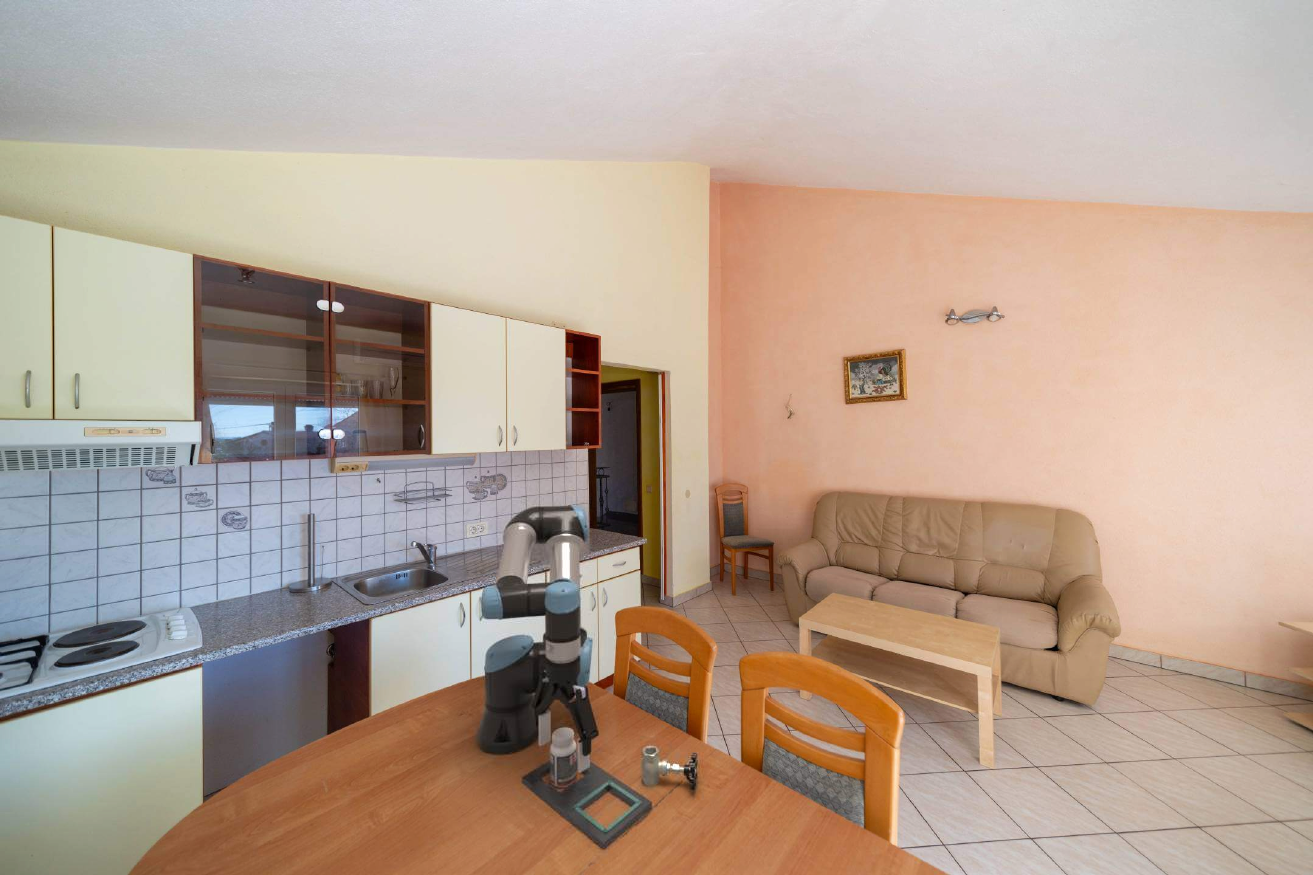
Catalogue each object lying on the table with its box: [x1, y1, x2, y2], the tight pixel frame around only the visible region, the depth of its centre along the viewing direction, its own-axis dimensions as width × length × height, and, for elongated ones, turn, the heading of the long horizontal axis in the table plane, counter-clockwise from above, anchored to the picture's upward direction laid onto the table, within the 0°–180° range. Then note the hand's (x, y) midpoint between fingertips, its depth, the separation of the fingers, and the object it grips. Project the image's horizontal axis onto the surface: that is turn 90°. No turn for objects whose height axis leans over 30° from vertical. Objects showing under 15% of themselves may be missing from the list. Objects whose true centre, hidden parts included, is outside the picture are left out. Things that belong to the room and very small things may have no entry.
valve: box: [640, 745, 699, 791], centre depth 103 cm, size 7×7×12 cm
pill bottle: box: [549, 726, 578, 789], centre depth 104 cm, size 6×6×10 cm
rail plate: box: [521, 752, 653, 850], centre depth 99 cm, size 26×13×1 cm, turn 49°
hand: (563, 755), depth 104 cm, fingers open, 13 cm apart
